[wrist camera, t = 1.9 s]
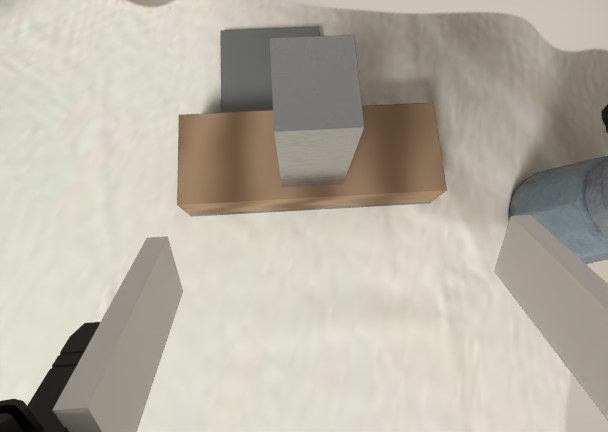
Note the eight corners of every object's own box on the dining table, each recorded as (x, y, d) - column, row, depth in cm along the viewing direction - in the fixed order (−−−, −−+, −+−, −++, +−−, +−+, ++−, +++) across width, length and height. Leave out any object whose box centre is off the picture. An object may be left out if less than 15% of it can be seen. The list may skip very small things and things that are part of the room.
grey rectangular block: (342, 184, 30) (363, 127, 20) (282, 187, 30) (274, 131, 20) (336, 117, 31) (354, 34, 22) (278, 120, 31) (269, 38, 22)
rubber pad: (223, 124, 35) (221, 120, 35) (222, 36, 38) (220, 30, 37) (325, 119, 36) (326, 115, 35) (318, 32, 38) (319, 26, 37)
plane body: (191, 216, 33) (177, 205, 29) (192, 135, 35) (178, 114, 31) (429, 203, 34) (446, 190, 30) (418, 124, 36) (433, 102, 32)
